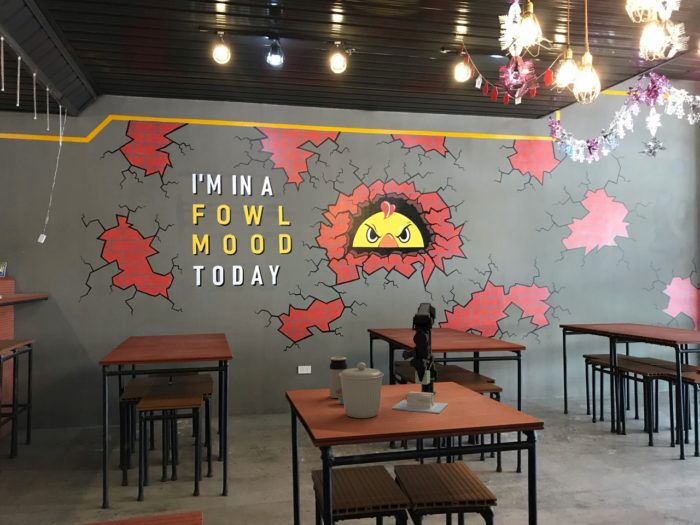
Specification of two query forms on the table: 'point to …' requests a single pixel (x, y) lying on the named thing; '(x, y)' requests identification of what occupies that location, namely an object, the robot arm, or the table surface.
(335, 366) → the travel mug
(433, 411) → the board
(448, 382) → the table surface
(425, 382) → the sage cube
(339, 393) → the cupcake
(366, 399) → the canister
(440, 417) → the table surface
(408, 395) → the birch brick
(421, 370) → the robot arm
